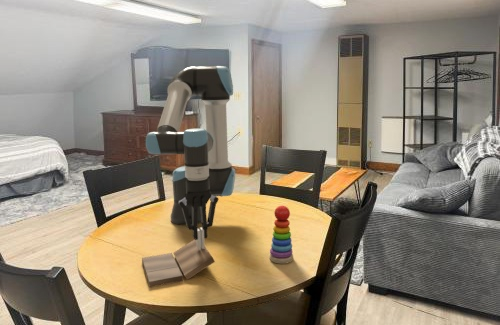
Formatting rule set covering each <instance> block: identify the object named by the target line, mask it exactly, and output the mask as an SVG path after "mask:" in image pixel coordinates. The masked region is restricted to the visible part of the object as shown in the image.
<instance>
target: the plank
mask: <svg viewBox="0 0 500 325" xmlns="http://www.w3.org/2000/svg"><path fill="white" fill-rule="evenodd" d="M173 256H174V258H175V260H176V262H177V265H178V267H179V269H180V271H181V273H183V274H182V275H183V277H185V279H186V280H187V281H188V280H189V279H191V278H192V277H194V276H196V274H198V273H200V272H201V271H202V270H204V269H206V268H207V267H209V266H210V265H212V264H214V263H216V261H215V259H214V257H213V256H212V255H211V253H210V252H209V249H207V248H206V246H205V249H202V248H201V250H198V248H197V244H196V240H194V239H193V240H191V241H190V242H188V243H186V244H185V245H183V246H182V247H180V248H179V249H177V250H175V251H174V252H173Z"/></svg>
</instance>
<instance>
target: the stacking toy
mask: <svg viewBox="0 0 500 325" xmlns="http://www.w3.org/2000/svg"><path fill="white" fill-rule="evenodd" d="M290 216H291V212H290V209H289V208H288V207H287V206H285V205H279V206H277V207H276V208H275V209H274V217H275V220H274V226H273V233H272V236H273V237H272V239H271V242H272V243H271V245H270V246H271V248H270V250H269V259H270V261H271V262H272V263H275V264H282V265H283V264H285V265H286V264H290V263H291V262H292V261H293V260H294V254H293V244H292V234H291V232H290V231H291V227H290V226H289V225H290V220H288V219H289V218H290Z"/></svg>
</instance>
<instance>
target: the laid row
mask: <svg viewBox="0 0 500 325" xmlns="http://www.w3.org/2000/svg"><path fill="white" fill-rule="evenodd" d="M141 263H142V266H143V270H144V274H145V276H146V280H147V283H148V286H149V288H154V287H159V286H162V285H169V284H174V283H179V282H183V281H184V274H182V273H183V272H182V270H181V268H180V266H179V264H178V262H177V260H176V258H175V256H174V254H173V252H169V253H162V254H157V255H151V256H145V257H142V258H141Z"/></svg>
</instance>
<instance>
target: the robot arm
mask: <svg viewBox="0 0 500 325" xmlns="http://www.w3.org/2000/svg"><path fill="white" fill-rule="evenodd" d="M230 70H231V69H229V68H228V67H227V66H225V65H224V66H223V65H213V66H212V65H210V66H209V65H208V66H205V65H204V66H189V67H186V68H184V69H182V70H180V71H179V72H178V73H177V74H175V75H174V77H172V79H171V80H170V81H169V83H168V86H167V90H166V91H167V98H166V101H165V104H164V107H163V110H162V112H161V117H160V120H159V122H158V125H157V128H156V131H151V132H148V133H147V134H146V136H145V148H146V151H147V153H148V154H150V155H162V156H163V155H184V157H183V158H184V166H179V167H177V168H175V169H174V170H173V172H172V180H171V182H172V191H173V192H172V194H173V204H172V205H173V206H172V209H171V214H170V221H171V223H173V224H176V225H182V226H184V225H185V226H186V228H188V230H189V231H191V230H192V238H193V240H196V244H197V248H198V250H201V248H202V249H205V247H206V244H205V243H206V242H205V239H207V238H208V229H209V228H211V227H212V226H213V224H214V218H215V213H216V206H217V203H218V201H219V197H230V196H232V195H233V193H234V192H233V191H234V188H235V182H236V169H235V168H233V166H232V165H233V164H232V163H231V162H230V161H229V159H228V158H229V153H228V150H229V149H228V147H229V146H228V124H227V123H228V122H227V104H228V102H230V98H231V96H233V95H234V85H233V84H234V83H233V79H232V74H231V71H230ZM193 96H194V97H195V96H196V97H197V96H198V97H200V98H201V102H203V104H204V105H205V107H204V108H205V128H188V129H185V130H184V131H180V129H181V125H182V121H183V118H184V115H185V111H186V107H187V103H188V101H189V100H190V99H191V97H193ZM209 201H210V203H209V209H208V214H207V204H208V202H209ZM199 223H201V227H198V226H199V225H198V224H199Z"/></svg>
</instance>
